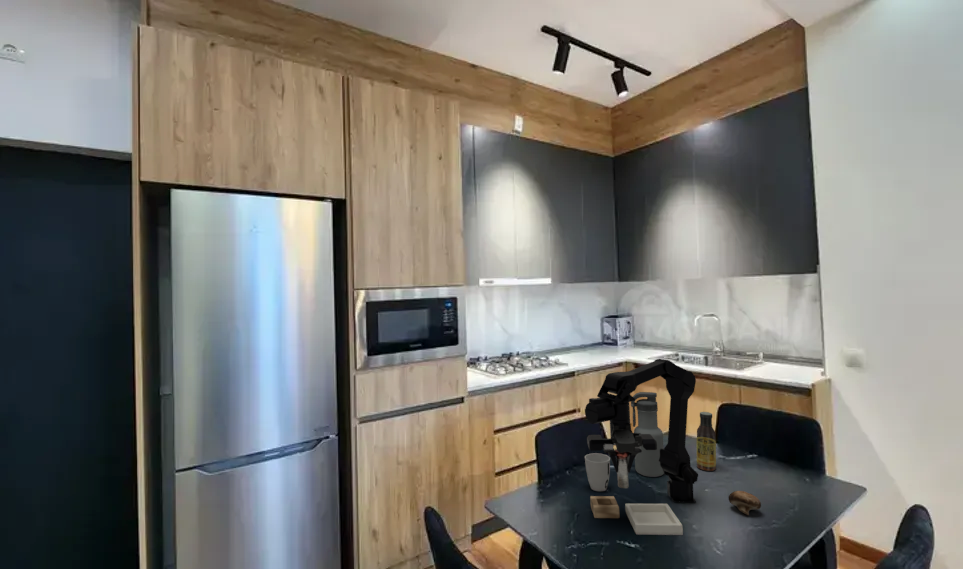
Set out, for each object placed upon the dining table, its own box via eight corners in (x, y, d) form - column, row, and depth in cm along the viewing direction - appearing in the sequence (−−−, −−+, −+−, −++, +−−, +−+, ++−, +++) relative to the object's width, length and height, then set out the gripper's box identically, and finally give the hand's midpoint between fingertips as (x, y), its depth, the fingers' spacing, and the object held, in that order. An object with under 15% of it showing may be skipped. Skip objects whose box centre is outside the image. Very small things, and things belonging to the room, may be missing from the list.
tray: (667, 512, 128) (667, 503, 128) (682, 535, 116) (682, 525, 116) (625, 512, 129) (625, 503, 129) (636, 534, 117) (635, 525, 117)
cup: (612, 494, 141) (611, 462, 141) (586, 492, 143) (585, 461, 143) (610, 483, 149) (608, 453, 149) (585, 482, 150) (584, 452, 151)
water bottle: (633, 475, 154) (629, 395, 155) (635, 465, 163) (631, 389, 164) (664, 479, 150) (661, 397, 151) (664, 468, 159) (661, 390, 160)
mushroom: (747, 510, 121) (746, 487, 125) (722, 510, 128) (722, 488, 131) (768, 520, 123) (766, 496, 126) (742, 519, 130) (741, 497, 133)
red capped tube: (628, 482, 129) (627, 448, 129) (631, 489, 125) (630, 453, 125) (614, 482, 129) (613, 448, 130) (617, 489, 125) (615, 453, 126)
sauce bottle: (695, 470, 157) (693, 414, 158) (697, 463, 162) (695, 409, 163) (716, 473, 154) (713, 416, 154) (717, 467, 159) (715, 411, 159)
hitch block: (614, 506, 133) (613, 496, 133) (619, 518, 126) (619, 507, 126) (590, 506, 134) (590, 496, 134) (594, 517, 127) (594, 507, 127)
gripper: (590, 426, 121) (593, 484, 120) (661, 425, 119) (664, 484, 118) (585, 415, 132) (588, 467, 131) (650, 414, 130) (653, 467, 129)
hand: (622, 471), depth 127 cm, fingers closed on red capped tube, 3 cm apart
